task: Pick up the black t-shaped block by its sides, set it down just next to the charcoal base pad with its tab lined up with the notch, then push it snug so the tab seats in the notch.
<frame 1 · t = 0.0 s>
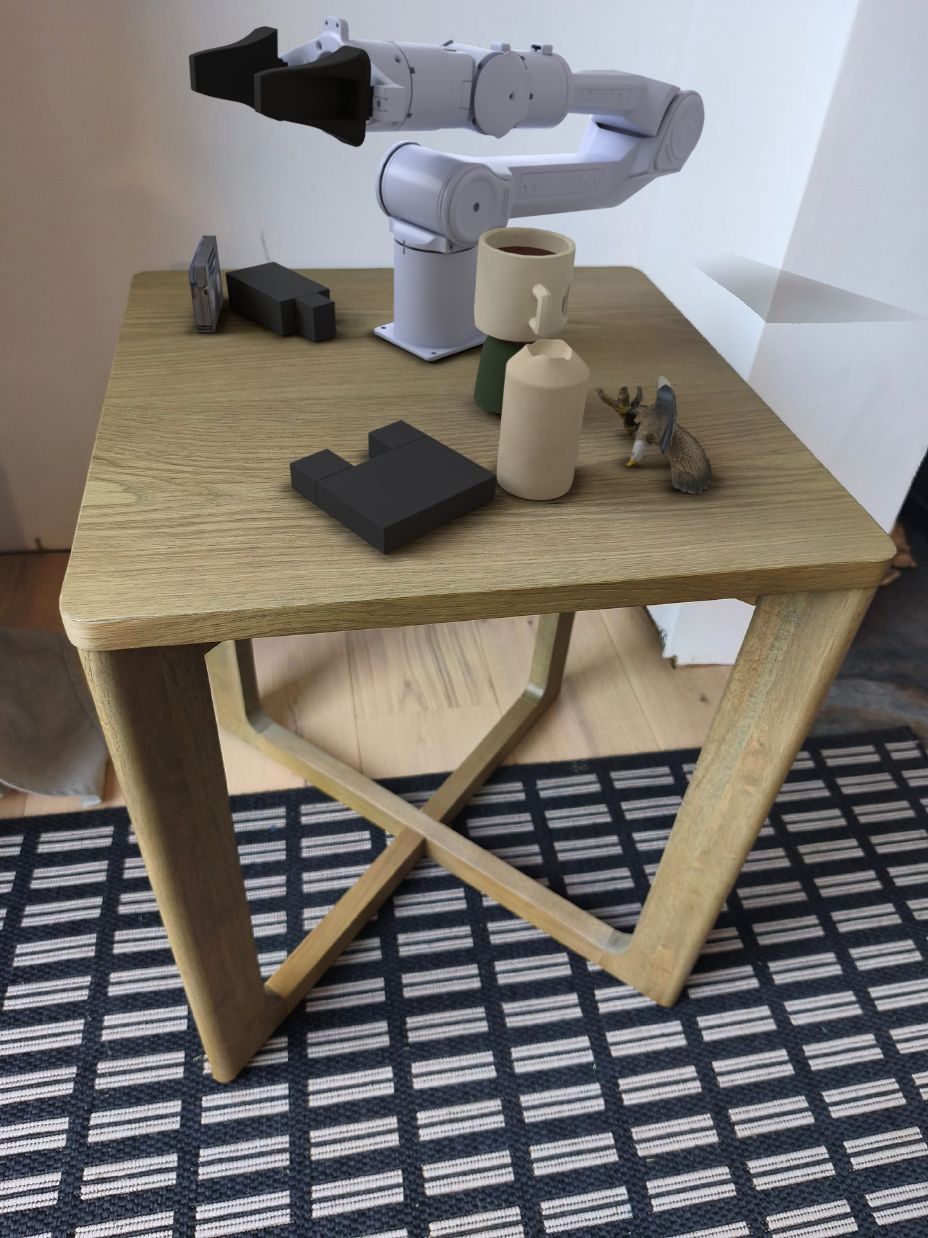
hand: (223, 83, 55), 22 cm above the table, tool horizontal, fingers open, 7 cm apart
mini dv tape: (211, 317, 81), on the table
black t-shaped block: (279, 314, 82), on the table
beige bottle vase: (533, 482, 62), on the table
base pad: (393, 493, 59), on the table
eagle figurine: (653, 464, 65), on the table
character mug: (510, 408, 70), on the table
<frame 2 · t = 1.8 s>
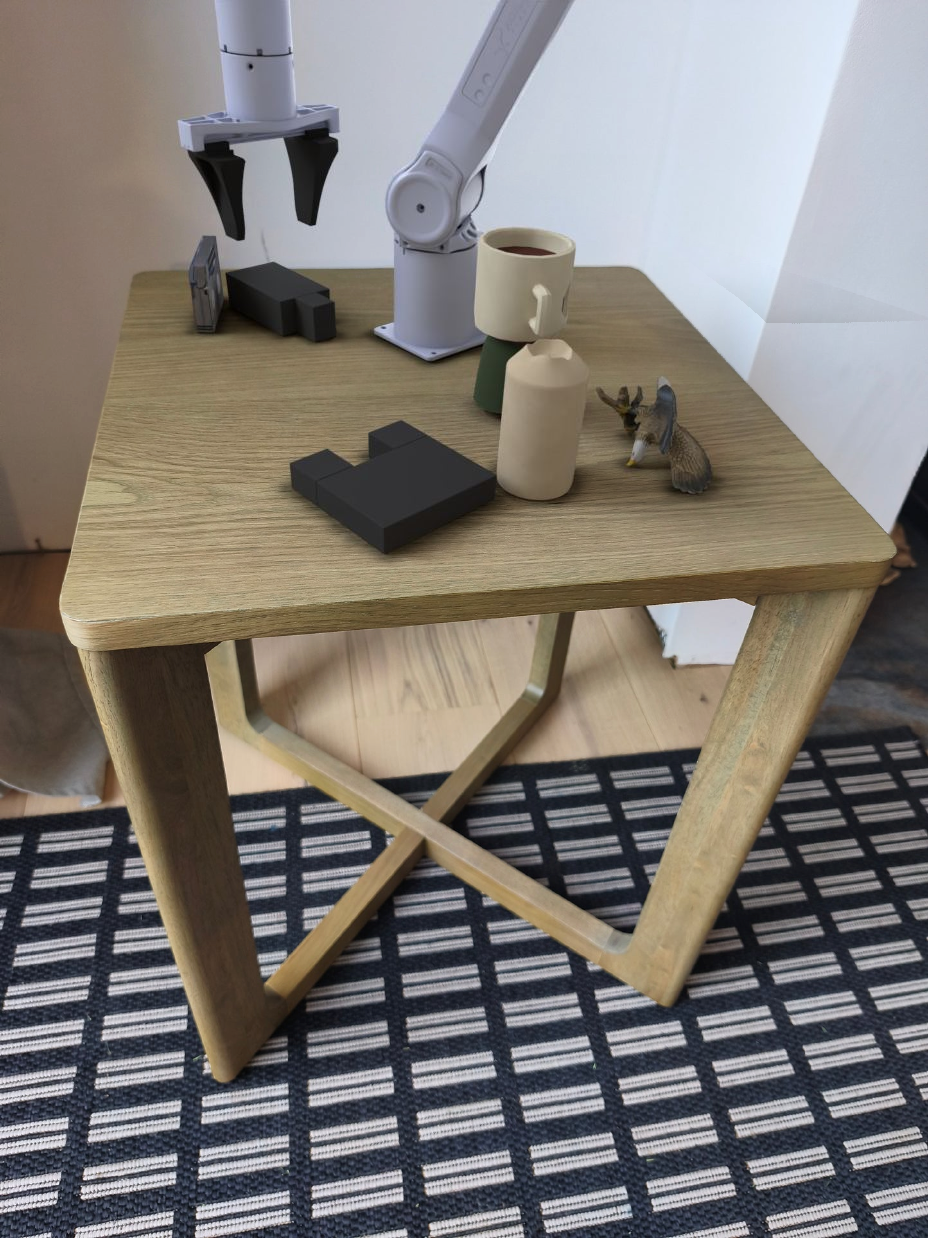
hand: (272, 230, 77), 8 cm above the table, tool pointing down, fingers open, 7 cm apart
nothing on the table moved.
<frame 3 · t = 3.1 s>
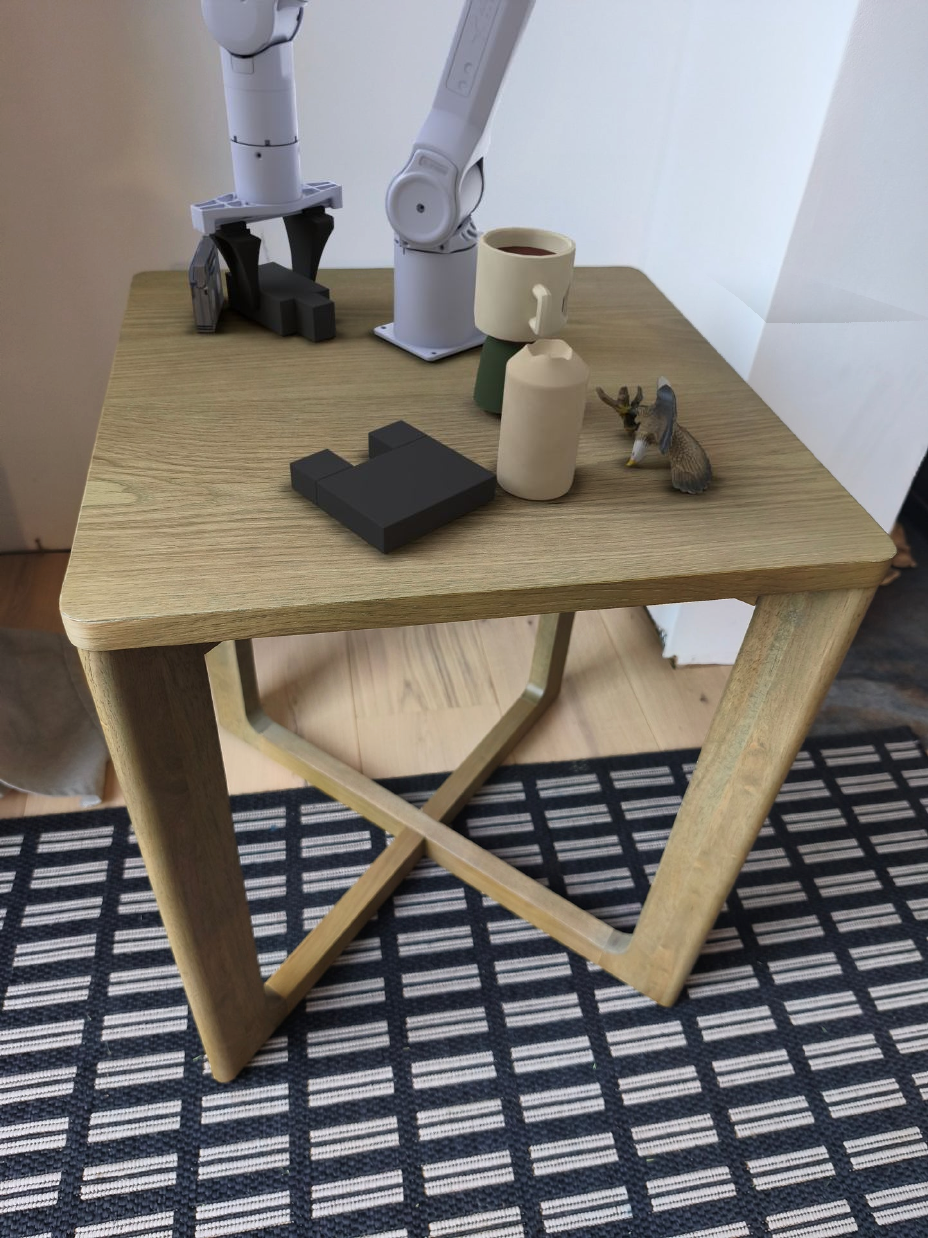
hand: (278, 299, 81), 1 cm above the table, tool pointing down, fingers closed on black t-shaped block, 5 cm apart
black t-shaped block: (279, 314, 82), on the table, touching gripper
everything else where it was.
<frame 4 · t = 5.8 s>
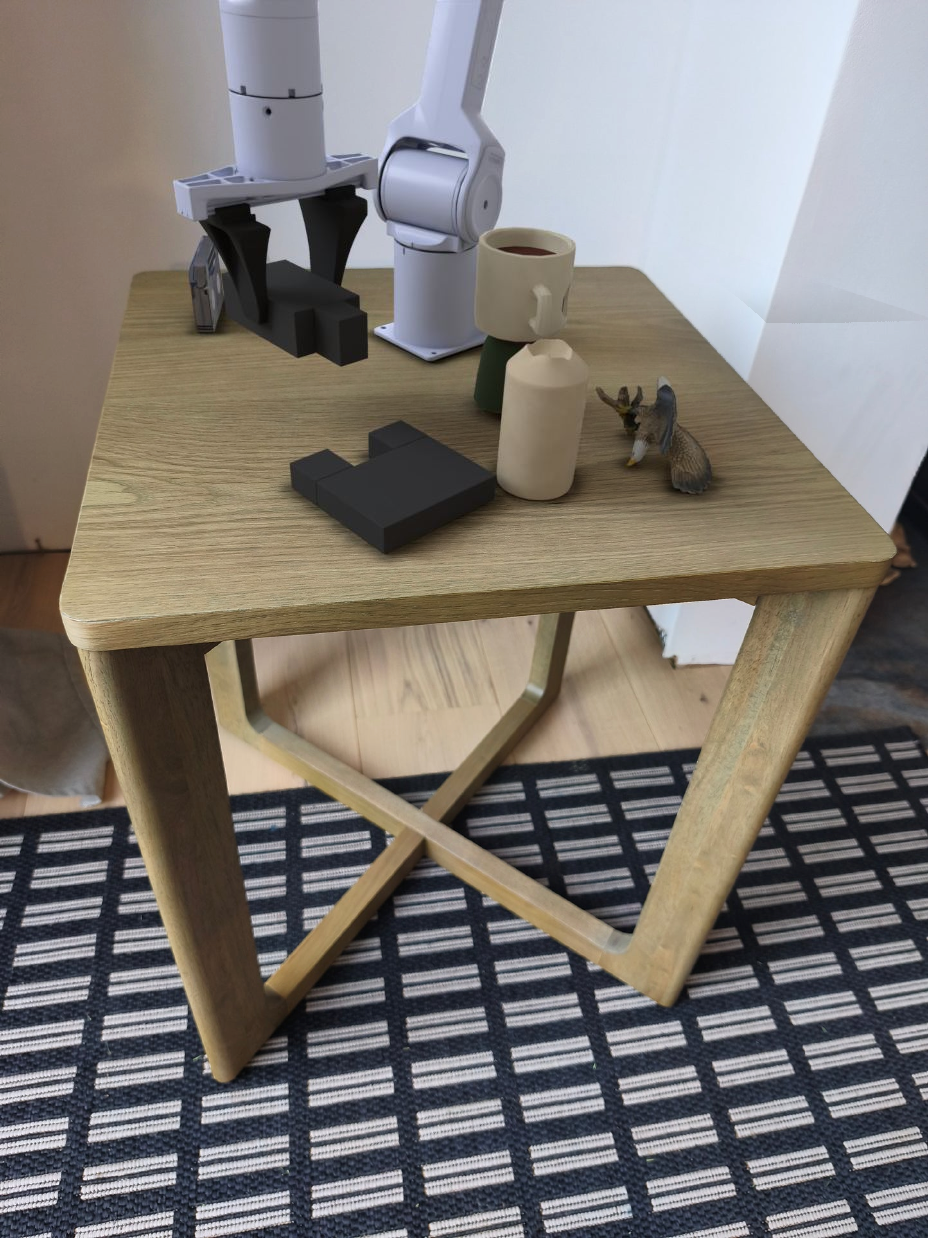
hand: (292, 309, 61), 8 cm above the table, tool pointing down, fingers closed on black t-shaped block, 5 cm apart
black t-shaped block: (292, 328, 62), point 7 cm above the table, touching gripper
everything else where it was.
when the fingers open (1 cm above the table, at t = 8.4 s): black t-shaped block stays where it is, on the table.
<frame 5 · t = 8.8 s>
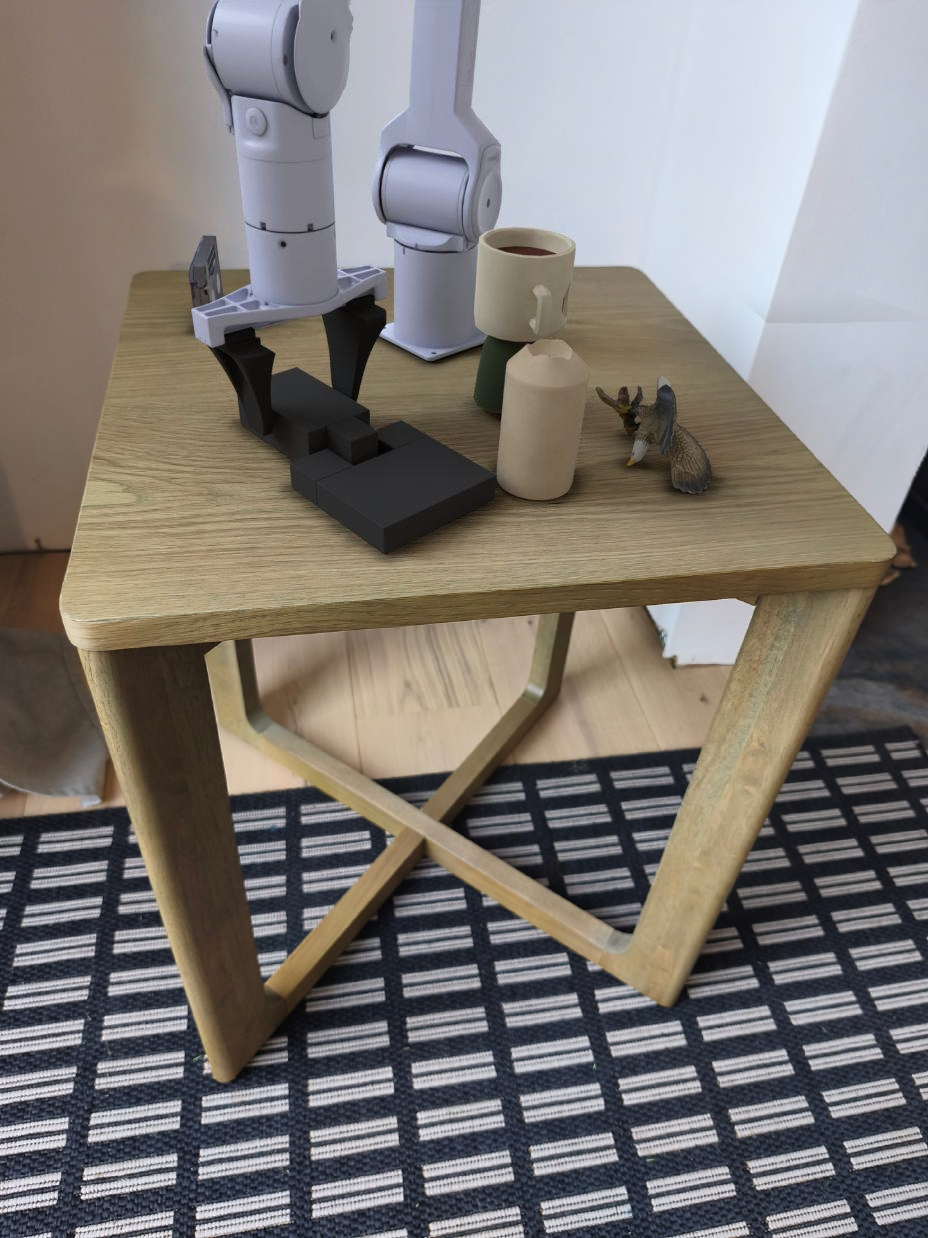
hand: (304, 413, 63), 2 cm above the table, tool pointing down, fingers open, 7 cm apart
black t-shaped block: (304, 436, 65), on the table
everything else where it was.
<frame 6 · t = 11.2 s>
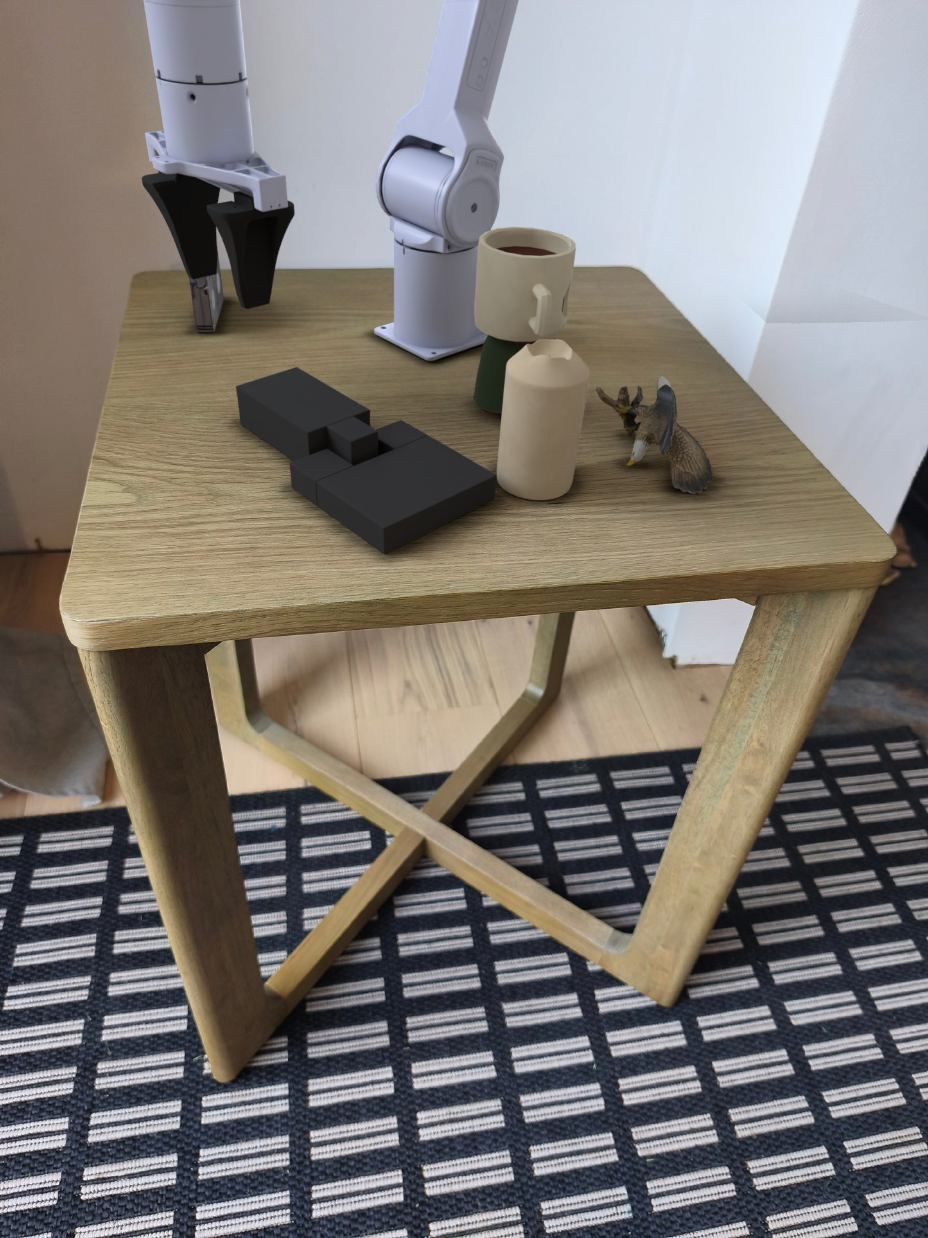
hand: (228, 289, 64), 8 cm above the table, tool pointing down, fingers open, 7 cm apart
nothing on the table moved.
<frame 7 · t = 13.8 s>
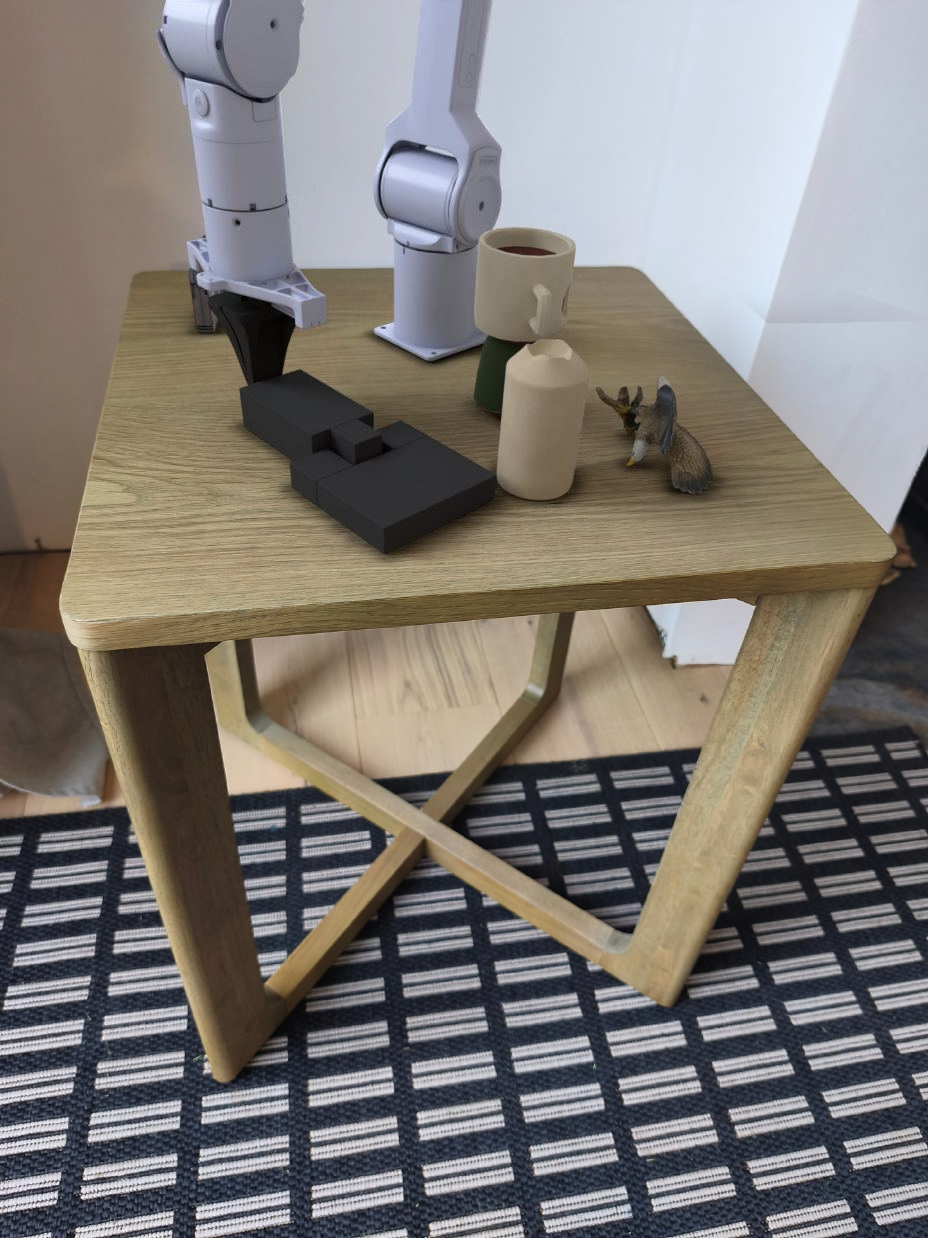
hand: (265, 388, 66), 2 cm above the table, tool pointing down, fingers closed
black t-shaped block: (308, 438, 64), on the table, touching gripper
everything else where it was.
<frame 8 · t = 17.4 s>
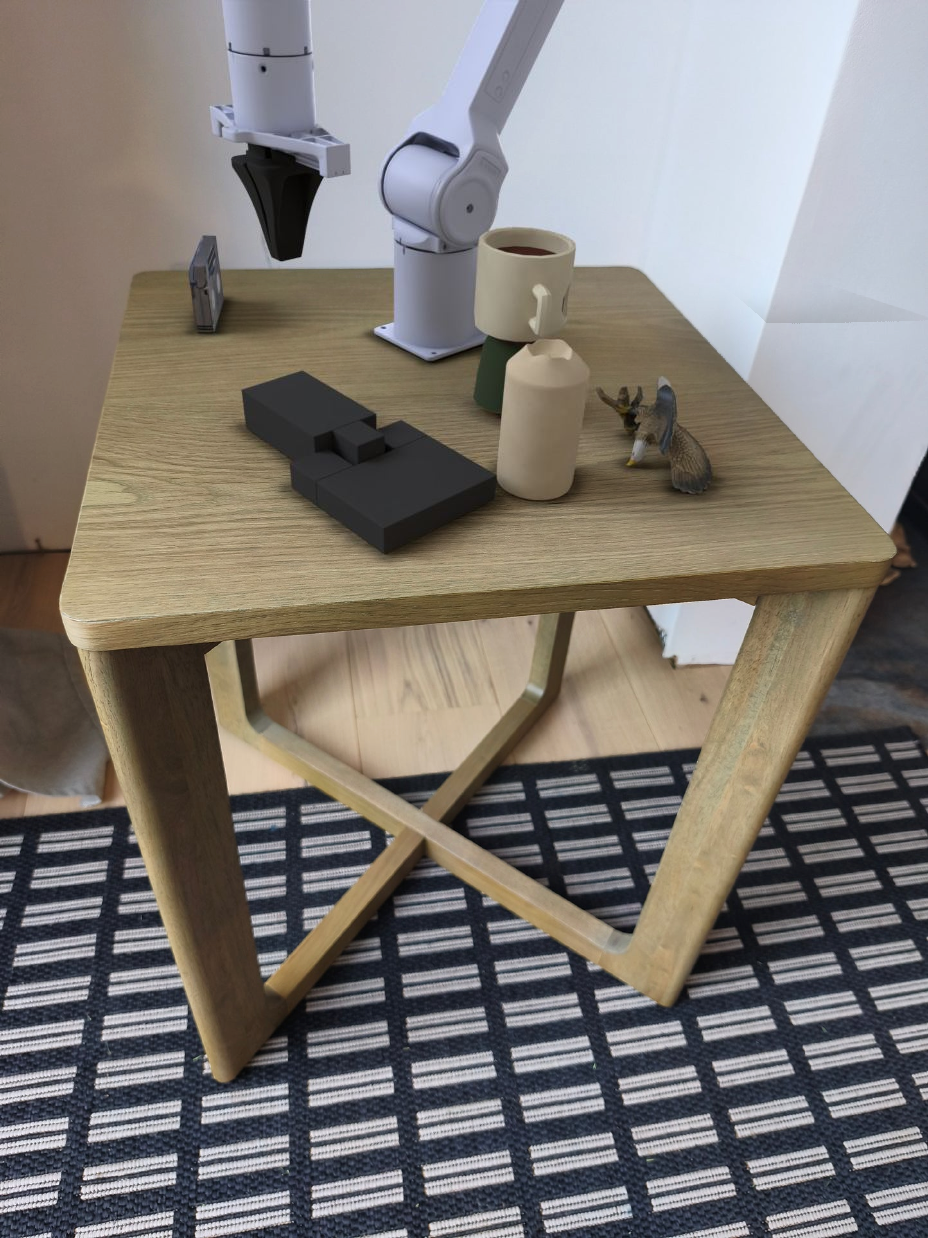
hand: (286, 256, 67), 9 cm above the table, tool pointing down, fingers closed
black t-shaped block: (310, 440, 64), on the table, touching base pad
everything else where it was.
at the end: black t-shaped block 0.4 cm from the target spot on the table beside the base pad, on the table; black t-shaped block tilted 0°; the gripper is holding nothing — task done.
